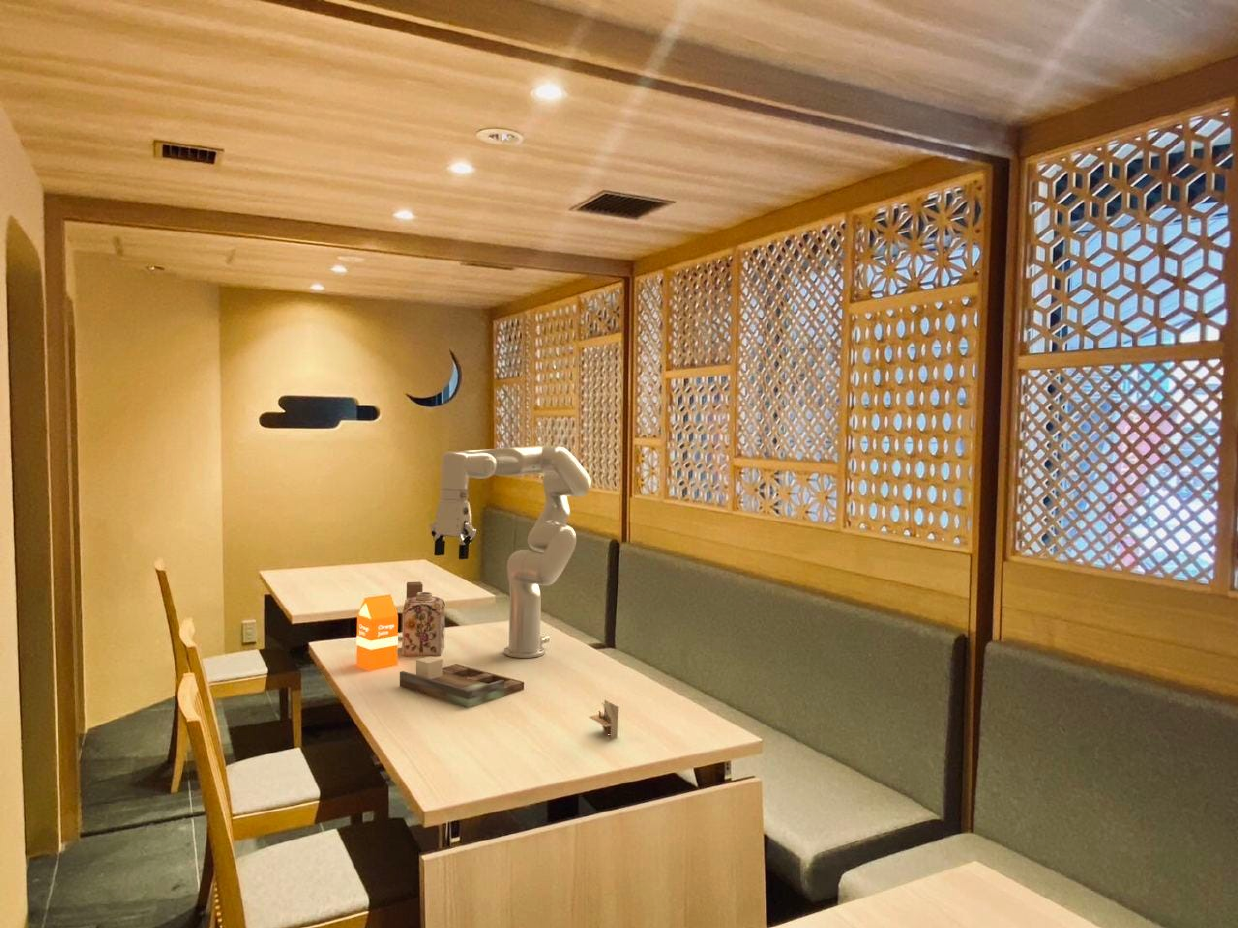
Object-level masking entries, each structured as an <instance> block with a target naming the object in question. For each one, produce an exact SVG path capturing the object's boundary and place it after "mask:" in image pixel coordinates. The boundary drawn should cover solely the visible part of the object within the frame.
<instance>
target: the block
mask: <svg viewBox="0 0 1238 928" xmlns="http://www.w3.org/2000/svg"><path fill="white" fill-rule="evenodd" d="M443 663H444V659H443V658H440V657H439V658H438V657H437V656H424V657H422V658H421V657H420V658H418V659H415V675H419V676H422V677H426V678H429V679H434V678H437V677H441V676H443V667H444V666H443V665H444V664H443Z"/></svg>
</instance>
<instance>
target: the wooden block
mask: <svg viewBox="0 0 1238 928" xmlns="http://www.w3.org/2000/svg"><path fill="white" fill-rule="evenodd" d="M423 586H424V585H423V583H422V581H407V582H406V600H407V599H409V598H413V597H416V596H417V593H418V592H424V591H423V590H424V588H423Z"/></svg>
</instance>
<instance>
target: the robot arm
mask: <svg viewBox="0 0 1238 928" xmlns="http://www.w3.org/2000/svg"><path fill="white" fill-rule="evenodd" d="M441 459H442V461H441V481H440V499H439V500H438V505H437V511H436V517H435V519H436V520H435V521H433V522H432V523H430V524H429V528H430V531H431V537H432V536H433V538H432V540H433V542H434V553H433V555H434V556H443V555H445V544H446V541H445V540H444V539H445V538H446V537H452V538H457V539H458V541H459V543H460V544H459V545H458V560H467V559H469V558H470V557H469V554H470V553H469V552H470V545H471V544H472V542H473V540H474V538H475V536H476V533H477V529H475V527H473V525H472V510H471V509H472V508H471V503H470V501H468V499H469V497H470V494H469V481H470V478H472V479H480V480H481V479H488V478H491V477H492V476H495V475H496V476H504V477H511V476H512V477H517V476H518V477H519V476H525V475H526V476H527V475H534V474H535V475H537V474H544V475H543V479H542V487H543V490H544V496H545V504H544V507H543V509H542V511H541V513H540V515H539V517H538V518H537V519H536V521H535V523H534V524H533V526H532V528H531V530H530V531H529V534H528V535H527V536H528V537H527V544H528V546H529V547H530V548H531V549H532V550H529V549H519V550H516V551H514V552H512V553H511V554H510V555H509V557H508V558H507V559H508V560H507V561H506V562H507V563H506V570H507V578H508V585H509V606H508V607H509V611H508V614H509V615H508V646H505V647H504V648H503V649H502V651H503V654H504V655H505V656H507V657H511V658H517V659H526V658H527V659H531V658H538V657H540V656H541V657H542V656H543V655H545V653H546V649H545V648H544V647H543V644H546V643H550V636H548V635H546V636H541V612H542V611H541V609H542V605H541V604H542V595H541V588H540V587H539V585H540V586H551V585H553V584H554V583H555V582H556V581H557V580H558V579H559V578H560V576H561V575H562V572H563V571H564V570H565V568H566V566H567V564H568V562H569V560H570V558H571V557H572V555H573V552H574V551H575V550H576V545H577V535H576V532H575V530H574V529H573V527H571V526H570V525H568V524H567V523H568V521H569V519H570V516H571V515H570V514H571V508H570V505H569V499H568V497H574V498H581V497H584V496H586V495H587V494H588V492H590V489H591V484H592V482H591V477H590V476H589V475H590V474H589V473H588V472H587V471H586V469H585V468H584V467H583V466H582V464H581V463H580V462H579V461H578V460H577V458H576V457H575V455H573V454H572V453H571V452H570V451H569V450H568V449H567V448H565V447H563V446H559V445H556V446H555V445H529V446H528V445H527V446H513V447H500V448H490V449H487V448H486V449H477V450H476V449H474V450H473V449H471V450H460V451H445V452H444V453H443V454H442V458H441Z"/></svg>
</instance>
